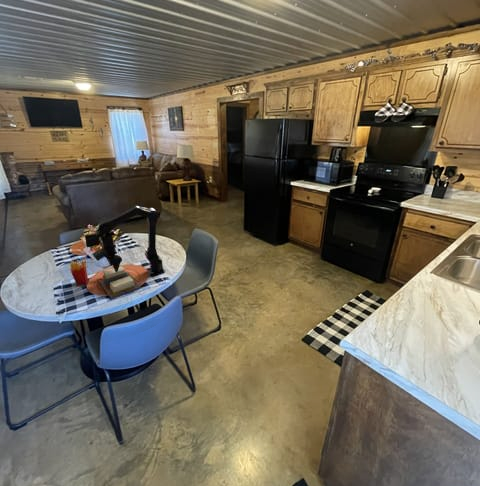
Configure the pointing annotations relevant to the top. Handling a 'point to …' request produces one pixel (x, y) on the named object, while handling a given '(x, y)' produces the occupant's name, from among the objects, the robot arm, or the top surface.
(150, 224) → the robot arm
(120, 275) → the grey rectangular block
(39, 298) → the top surface
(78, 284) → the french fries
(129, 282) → the cream books
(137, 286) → the walnut board
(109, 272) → the cream book
